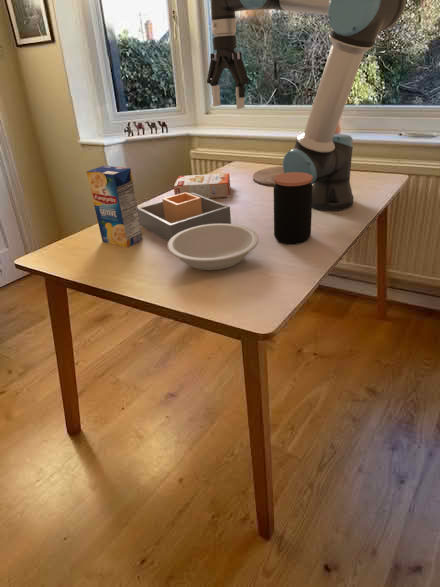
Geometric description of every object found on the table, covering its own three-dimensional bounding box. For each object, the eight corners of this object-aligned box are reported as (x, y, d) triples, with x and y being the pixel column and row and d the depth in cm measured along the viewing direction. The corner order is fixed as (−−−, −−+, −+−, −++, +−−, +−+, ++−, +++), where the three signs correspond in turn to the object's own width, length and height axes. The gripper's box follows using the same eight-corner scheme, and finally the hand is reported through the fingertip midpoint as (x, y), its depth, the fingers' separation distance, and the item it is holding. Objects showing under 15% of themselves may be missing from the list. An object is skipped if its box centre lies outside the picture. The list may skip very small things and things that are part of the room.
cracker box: (228, 181, 161) (173, 185, 162) (229, 197, 164) (175, 201, 165) (229, 171, 173) (177, 175, 175) (230, 186, 176) (179, 190, 178)
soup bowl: (179, 245, 129) (176, 224, 125) (260, 243, 126) (259, 221, 122) (162, 284, 108) (158, 261, 105) (258, 283, 105) (257, 259, 102)
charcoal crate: (231, 224, 140) (229, 206, 137) (172, 244, 130) (170, 225, 126) (194, 208, 156) (192, 192, 153) (139, 225, 145) (136, 208, 142)
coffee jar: (317, 235, 127) (320, 174, 118) (297, 248, 121) (298, 185, 111) (287, 228, 134) (288, 170, 125) (266, 240, 127) (265, 179, 118)
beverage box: (128, 247, 130) (113, 174, 119) (102, 241, 135) (86, 171, 124) (143, 239, 135) (130, 168, 123) (117, 233, 140) (103, 165, 129)
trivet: (244, 176, 189) (244, 171, 188) (296, 167, 195) (296, 163, 194) (267, 191, 169) (267, 186, 168) (324, 181, 174) (324, 176, 173)
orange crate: (203, 221, 141) (200, 197, 137) (179, 229, 137) (176, 204, 133) (188, 215, 148) (185, 192, 144) (165, 222, 143) (162, 198, 139)
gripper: (193, 38, 145) (199, 106, 156) (239, 33, 127) (242, 111, 138) (211, 36, 148) (216, 103, 159) (258, 32, 131) (260, 107, 141)
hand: (228, 107), depth 148 cm, fingers open, 13 cm apart
